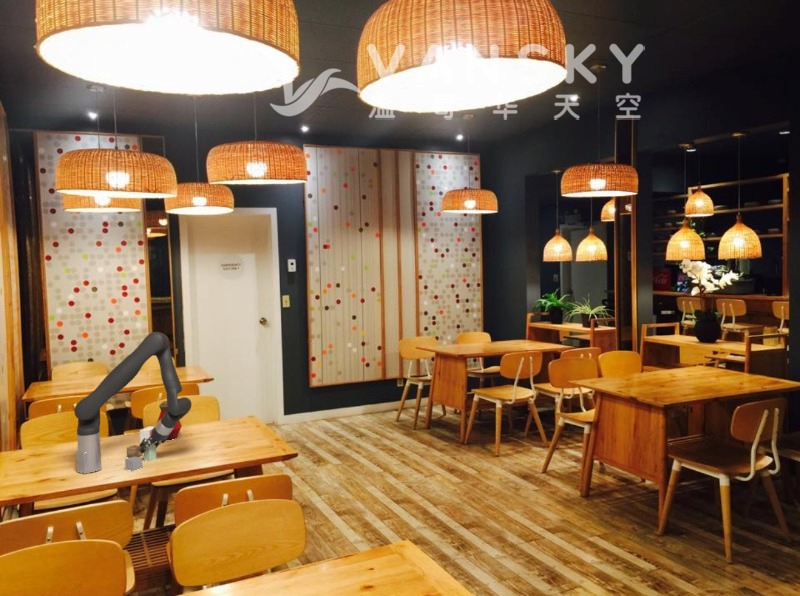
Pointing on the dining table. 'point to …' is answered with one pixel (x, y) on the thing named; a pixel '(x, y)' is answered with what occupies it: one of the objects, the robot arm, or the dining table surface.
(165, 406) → the bottle
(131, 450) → the walnut block
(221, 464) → the dining table surface
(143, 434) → the small box
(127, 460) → the grey cube
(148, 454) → the sage block
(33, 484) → the dining table surface
